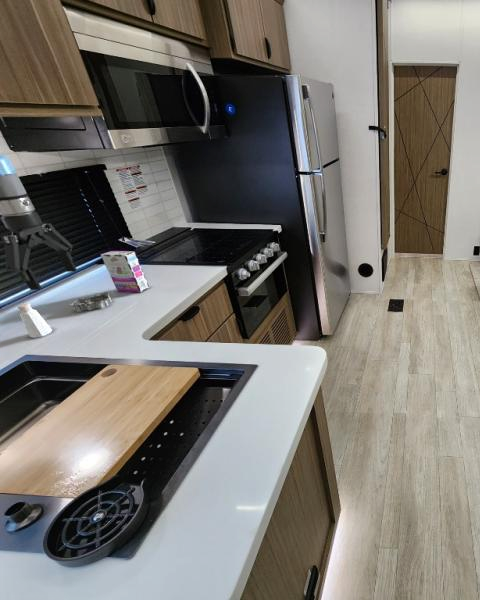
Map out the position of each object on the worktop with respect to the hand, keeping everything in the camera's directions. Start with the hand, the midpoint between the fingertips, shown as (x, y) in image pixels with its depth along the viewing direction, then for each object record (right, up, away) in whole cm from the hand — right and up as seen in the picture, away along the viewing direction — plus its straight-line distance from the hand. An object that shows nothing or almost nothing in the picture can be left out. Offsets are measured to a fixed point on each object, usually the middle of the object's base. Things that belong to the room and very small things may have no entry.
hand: (55, 279), depth 106 cm
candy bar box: (-2, -2, +34) cm, 34 cm away
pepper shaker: (-10, -18, +5) cm, 21 cm away
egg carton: (-7, -9, +21) cm, 24 cm away
